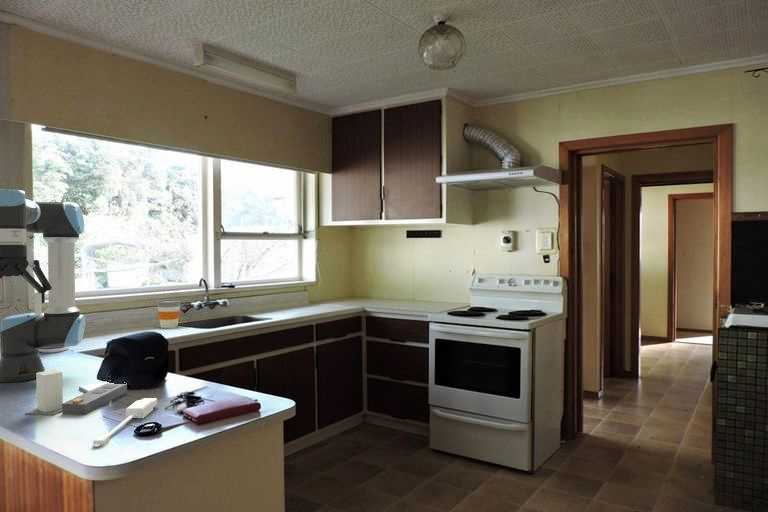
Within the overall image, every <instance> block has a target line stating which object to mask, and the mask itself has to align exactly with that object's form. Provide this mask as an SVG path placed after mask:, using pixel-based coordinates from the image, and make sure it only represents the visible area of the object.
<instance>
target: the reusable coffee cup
mask: <svg viewBox="0 0 768 512" xmlns="http://www.w3.org/2000/svg"><path fill="white" fill-rule="evenodd" d="M156 307H157V317H158V320H159V326H160V329H175V328H178V324H179V319H180V314H181V310H180V309H181V308H180V307H181V300H179V299H164V300H163V299H162V300H157V302H156Z"/></svg>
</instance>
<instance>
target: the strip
mask: <svg viewBox="0 0 768 512" xmlns="http://www.w3.org/2000/svg"><path fill="white" fill-rule="evenodd" d="M127 391H128V387H127V383H126V384H111V383H106V384H104V385H102V386H100V387H98V388H95V389H93V390H91V391H89V392H87V393H85V392H84V393H83V394H80V395H79V396H76V397H74V398H72V399H70V400H68V401H65V402H63V404H62V412H61V413H62V415H87V414H90V413H91V412H93V411H95V410H96V408H97V409H98V407H99V408H100V406H101V407H103V406H104V405H107V404H108V403H110V402H112V401H114V400H116V399H119V398H120V397H121V396H123V395H126V394H127V393H128V392H127ZM111 400H112V401H111ZM102 405H103V406H102ZM94 409H95V410H94Z"/></svg>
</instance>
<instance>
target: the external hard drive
mask: <svg viewBox="0 0 768 512" xmlns="http://www.w3.org/2000/svg"><path fill="white" fill-rule="evenodd" d="M106 383H109V382H107V381H101V382H98V383H96V382H95V383H91V384H86V385H85V384H84V385H80V386H79V387H78V390H79V389H80V390H79V391H81V390H82V391H81V392H83V391H84V392H83V393H84V394H85V393H87V392H89V391H91V390H93V389H95V388H98V387H100V386H102V385H104V384H106ZM111 384H114V383H111Z"/></svg>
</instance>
